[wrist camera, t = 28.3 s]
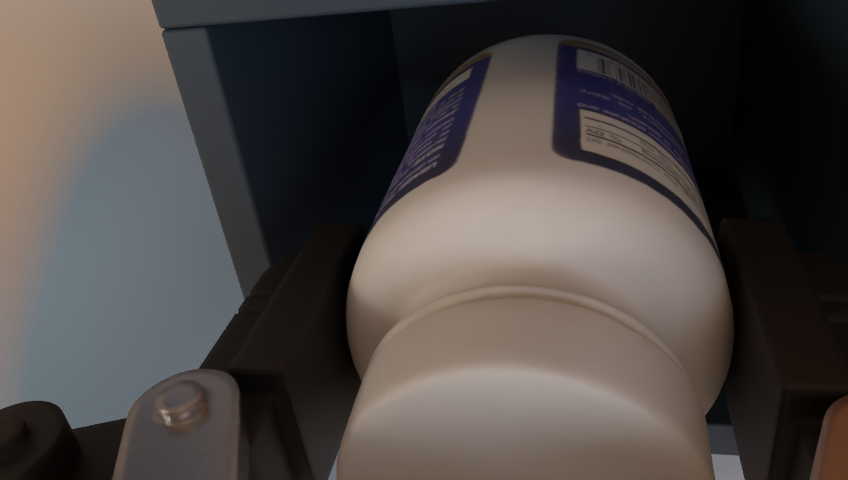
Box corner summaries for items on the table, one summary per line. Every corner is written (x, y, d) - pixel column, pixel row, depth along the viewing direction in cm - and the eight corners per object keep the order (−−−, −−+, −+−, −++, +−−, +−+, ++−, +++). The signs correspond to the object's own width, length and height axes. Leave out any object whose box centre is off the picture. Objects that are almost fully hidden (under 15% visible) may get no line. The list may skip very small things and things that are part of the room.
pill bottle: (456, 274, 17) (358, 651, 9) (391, 61, 14) (187, 345, 7) (694, 242, 15) (800, 666, 8) (665, -3, 13) (781, 277, 5)
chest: (400, 187, 25) (284, 431, 16) (353, -108, 21) (142, -22, 11) (748, 177, 23) (871, 464, 13) (788, -163, 18) (1031, -116, 8)
